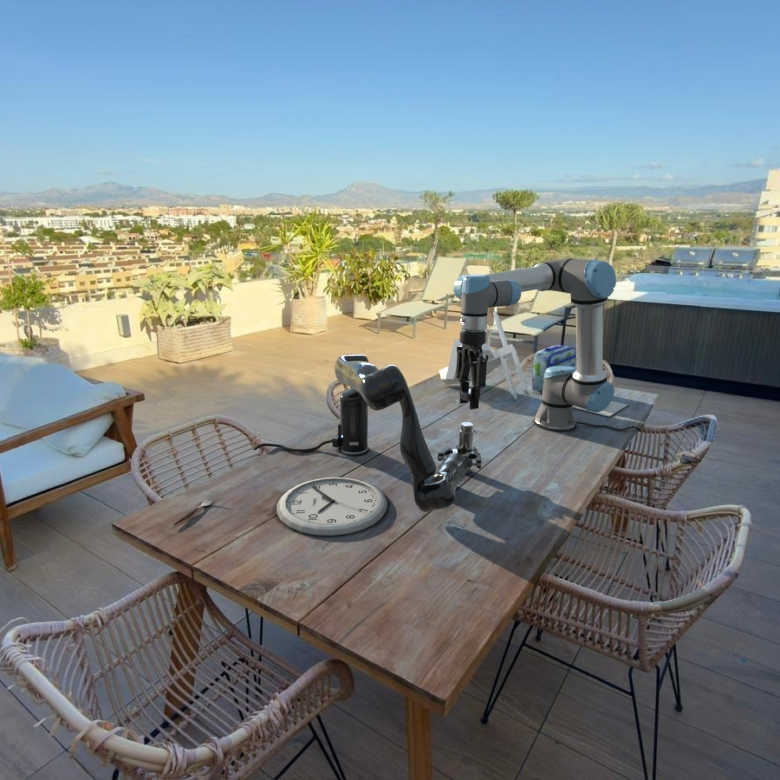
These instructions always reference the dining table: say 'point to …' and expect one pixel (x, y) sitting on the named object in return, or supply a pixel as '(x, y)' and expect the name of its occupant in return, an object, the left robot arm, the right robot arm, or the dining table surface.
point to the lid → (465, 394)
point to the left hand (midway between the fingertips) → (467, 448)
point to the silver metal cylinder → (465, 439)
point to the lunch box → (551, 362)
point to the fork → (204, 503)
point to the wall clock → (331, 506)
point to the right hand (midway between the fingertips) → (468, 405)
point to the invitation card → (608, 408)
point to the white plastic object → (493, 361)
